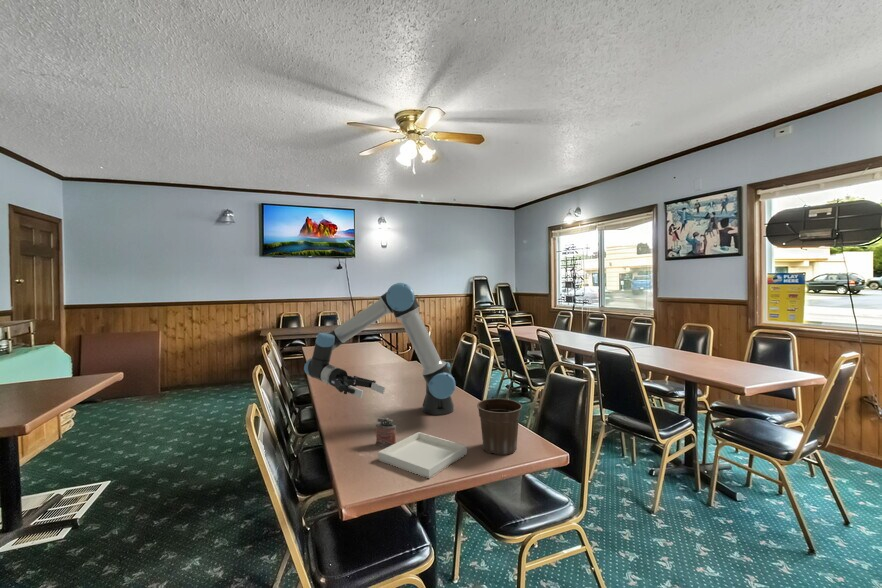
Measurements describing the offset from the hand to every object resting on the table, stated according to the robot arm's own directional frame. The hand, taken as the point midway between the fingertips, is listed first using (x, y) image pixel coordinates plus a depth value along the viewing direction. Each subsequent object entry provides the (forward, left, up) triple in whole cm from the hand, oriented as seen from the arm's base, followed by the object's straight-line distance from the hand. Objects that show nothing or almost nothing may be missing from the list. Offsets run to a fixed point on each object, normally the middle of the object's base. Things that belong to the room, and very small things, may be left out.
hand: (373, 392), depth 150 cm
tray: (+2, +26, -18) cm, 32 cm away
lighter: (+2, +8, -18) cm, 20 cm away
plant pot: (-20, +44, -18) cm, 52 cm away
